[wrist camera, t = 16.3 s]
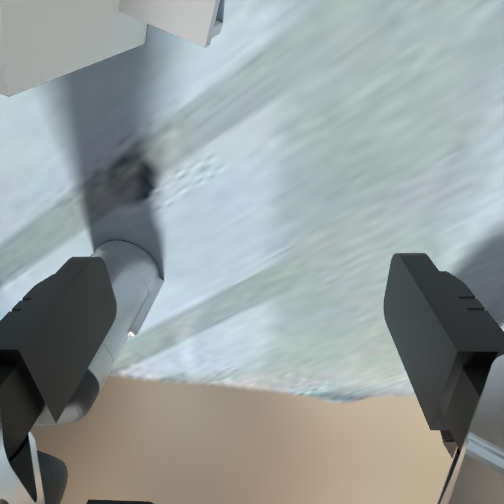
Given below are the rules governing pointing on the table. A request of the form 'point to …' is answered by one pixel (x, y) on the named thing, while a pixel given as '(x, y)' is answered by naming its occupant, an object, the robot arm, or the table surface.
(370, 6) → the table surface
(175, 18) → the wall shelf
